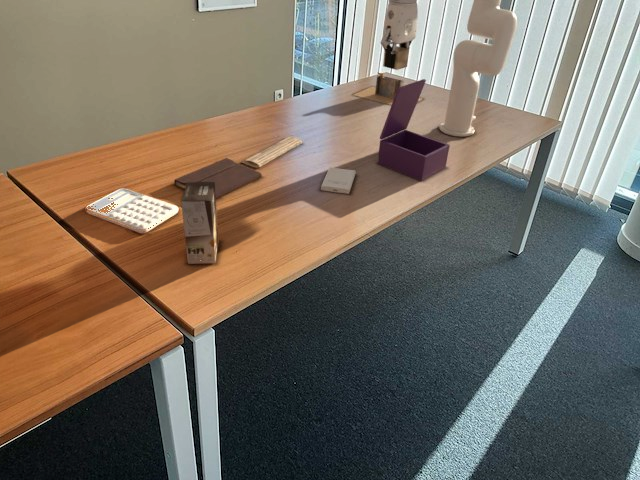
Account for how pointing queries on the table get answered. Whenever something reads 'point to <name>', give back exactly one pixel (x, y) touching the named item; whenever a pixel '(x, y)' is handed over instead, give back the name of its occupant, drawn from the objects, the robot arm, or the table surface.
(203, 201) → the coffee box
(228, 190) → the notebook
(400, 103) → the lid
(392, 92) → the architectural model on board
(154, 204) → the calculator
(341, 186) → the hard drive
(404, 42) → the robot arm
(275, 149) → the newspaper
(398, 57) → the block
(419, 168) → the purple lidded box
